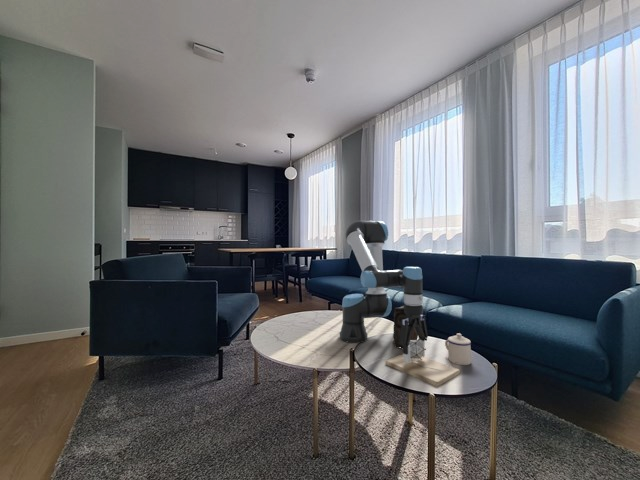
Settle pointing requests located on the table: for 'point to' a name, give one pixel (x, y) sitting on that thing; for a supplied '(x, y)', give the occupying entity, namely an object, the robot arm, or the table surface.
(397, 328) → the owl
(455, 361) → the teacup with lid
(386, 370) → the table surface
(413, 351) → the game die
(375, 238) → the robot arm
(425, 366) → the board
